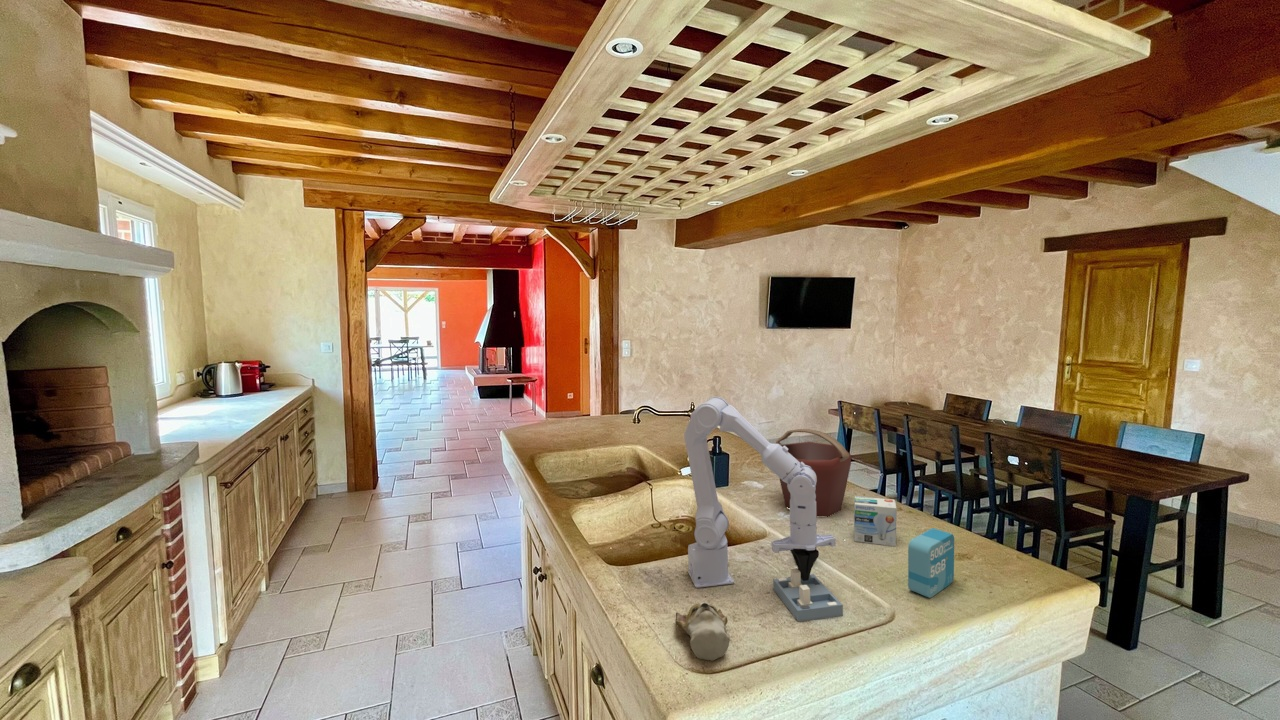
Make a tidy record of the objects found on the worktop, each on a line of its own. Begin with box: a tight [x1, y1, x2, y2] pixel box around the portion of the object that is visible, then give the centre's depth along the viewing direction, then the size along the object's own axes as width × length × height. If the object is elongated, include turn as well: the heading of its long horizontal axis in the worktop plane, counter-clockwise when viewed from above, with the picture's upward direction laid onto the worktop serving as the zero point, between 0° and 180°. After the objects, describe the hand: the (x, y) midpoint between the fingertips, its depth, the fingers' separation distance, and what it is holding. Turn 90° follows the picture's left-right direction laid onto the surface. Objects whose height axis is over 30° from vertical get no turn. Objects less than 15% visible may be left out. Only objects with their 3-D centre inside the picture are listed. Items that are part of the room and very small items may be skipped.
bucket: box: [775, 428, 852, 518], centre depth 167 cm, size 24×22×25 cm
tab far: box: [788, 568, 802, 588], centre depth 118 cm, size 3×2×4 cm
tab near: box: [797, 585, 813, 606], centre depth 111 cm, size 3×2×4 cm
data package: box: [907, 527, 955, 599], centre depth 118 cm, size 12×4×12 cm, turn 125°
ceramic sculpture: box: [675, 602, 730, 661], centre depth 102 cm, size 11×9×15 cm
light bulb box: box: [853, 495, 898, 547], centre depth 143 cm, size 11×7×11 cm, turn 68°
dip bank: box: [772, 573, 844, 623], centre depth 115 cm, size 10×13×2 cm
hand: (804, 578), depth 118 cm, fingers closed
